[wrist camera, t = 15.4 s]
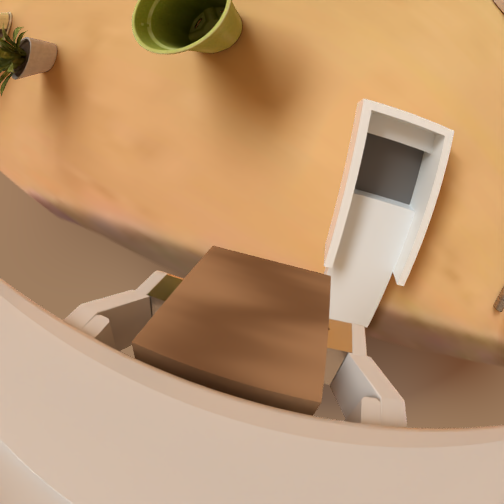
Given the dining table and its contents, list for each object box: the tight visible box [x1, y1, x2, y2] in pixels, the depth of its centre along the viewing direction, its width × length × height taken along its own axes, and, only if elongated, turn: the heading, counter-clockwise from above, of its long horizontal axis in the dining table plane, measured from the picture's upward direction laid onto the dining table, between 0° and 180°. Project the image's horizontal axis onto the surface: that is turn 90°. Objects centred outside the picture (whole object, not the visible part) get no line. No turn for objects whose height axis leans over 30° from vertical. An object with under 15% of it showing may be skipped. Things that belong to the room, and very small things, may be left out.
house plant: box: [0, 22, 57, 96], centre depth 20 cm, size 14×14×16 cm
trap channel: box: [324, 99, 454, 327], centre depth 26 cm, size 9×24×5 cm, turn 172°
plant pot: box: [132, 0, 242, 54], centre depth 19 cm, size 9×9×9 cm
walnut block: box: [132, 246, 331, 416], centre depth 10 cm, size 5×5×6 cm
